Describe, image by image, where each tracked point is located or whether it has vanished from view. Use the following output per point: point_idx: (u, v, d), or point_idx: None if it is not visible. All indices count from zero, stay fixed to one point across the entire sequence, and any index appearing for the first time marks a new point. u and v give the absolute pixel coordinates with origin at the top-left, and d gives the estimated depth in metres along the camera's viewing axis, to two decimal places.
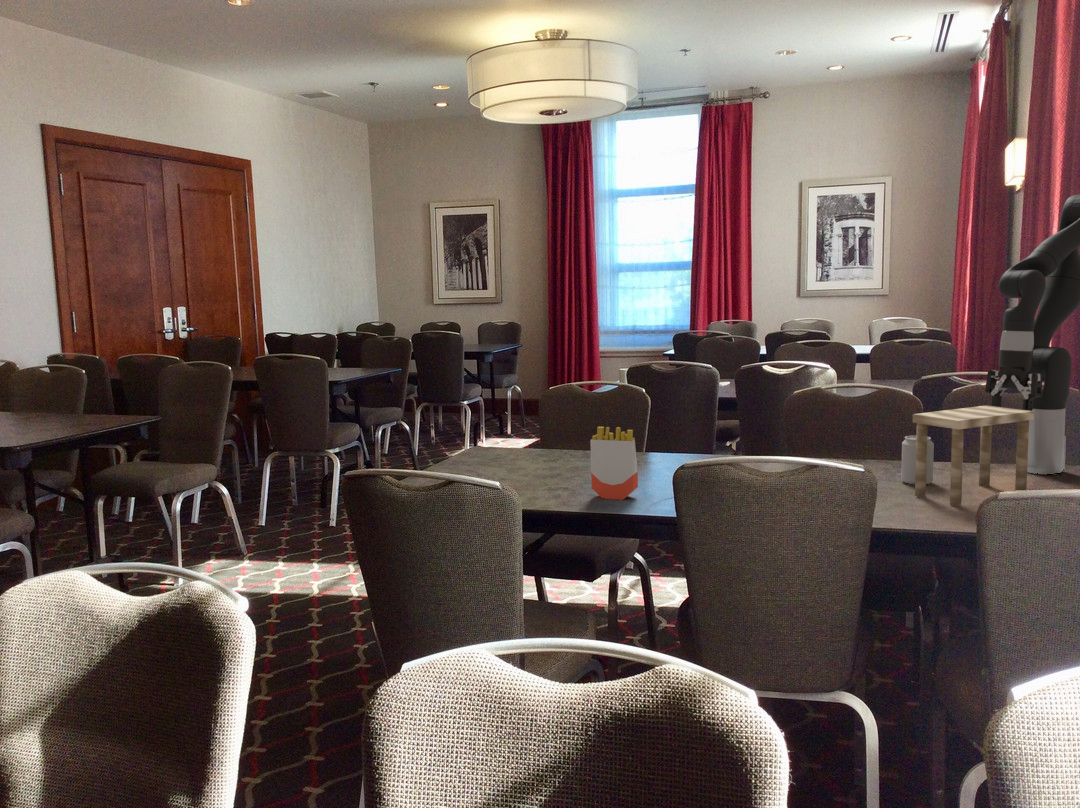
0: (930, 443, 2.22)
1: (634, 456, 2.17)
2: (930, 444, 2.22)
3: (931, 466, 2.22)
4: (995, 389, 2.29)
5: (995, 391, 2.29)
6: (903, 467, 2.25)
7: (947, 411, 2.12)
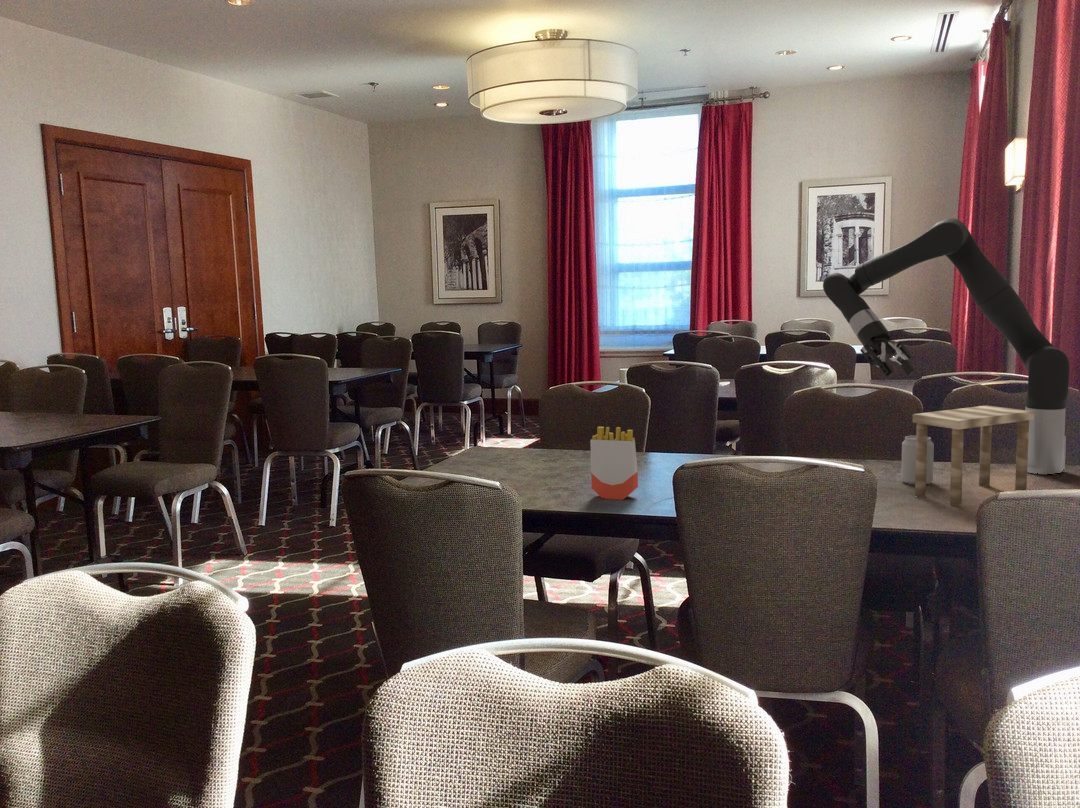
0: (930, 443, 2.22)
1: (634, 456, 2.17)
2: (930, 444, 2.22)
3: (931, 466, 2.22)
4: None
5: None
6: (903, 467, 2.25)
7: (947, 411, 2.12)
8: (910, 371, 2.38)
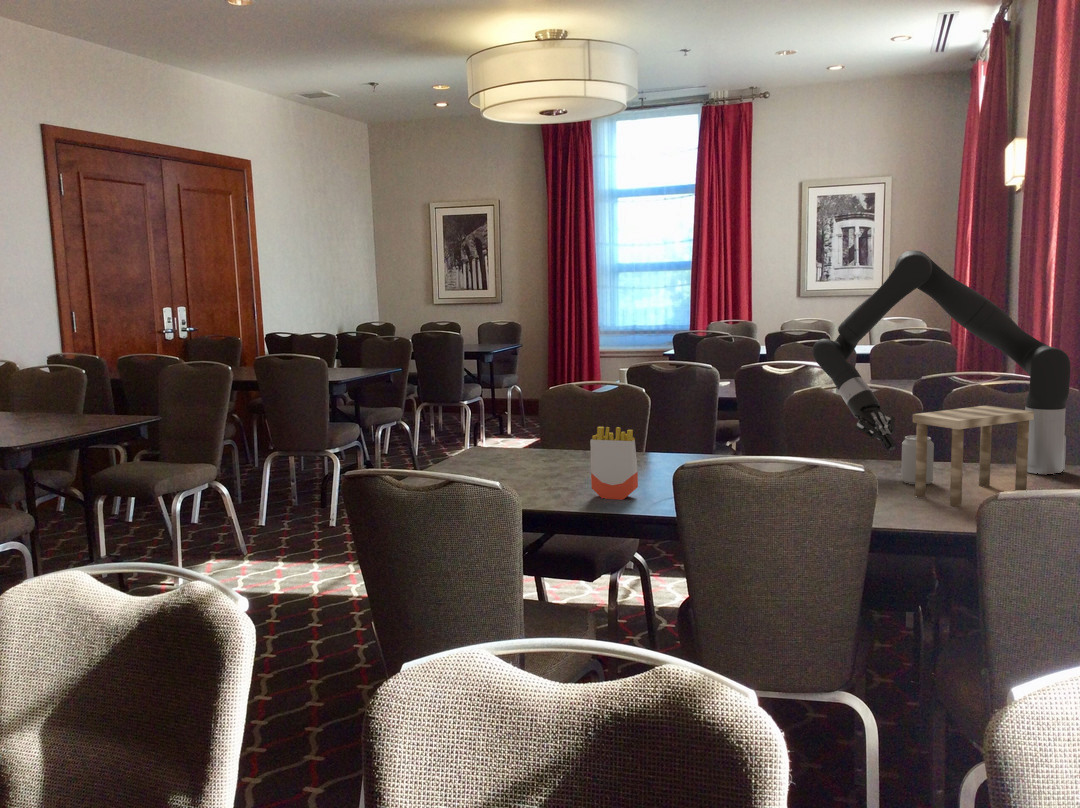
0: (930, 443, 2.22)
1: (634, 456, 2.17)
2: (930, 444, 2.22)
3: (931, 466, 2.22)
4: None
5: None
6: (903, 467, 2.25)
7: (947, 411, 2.12)
8: None
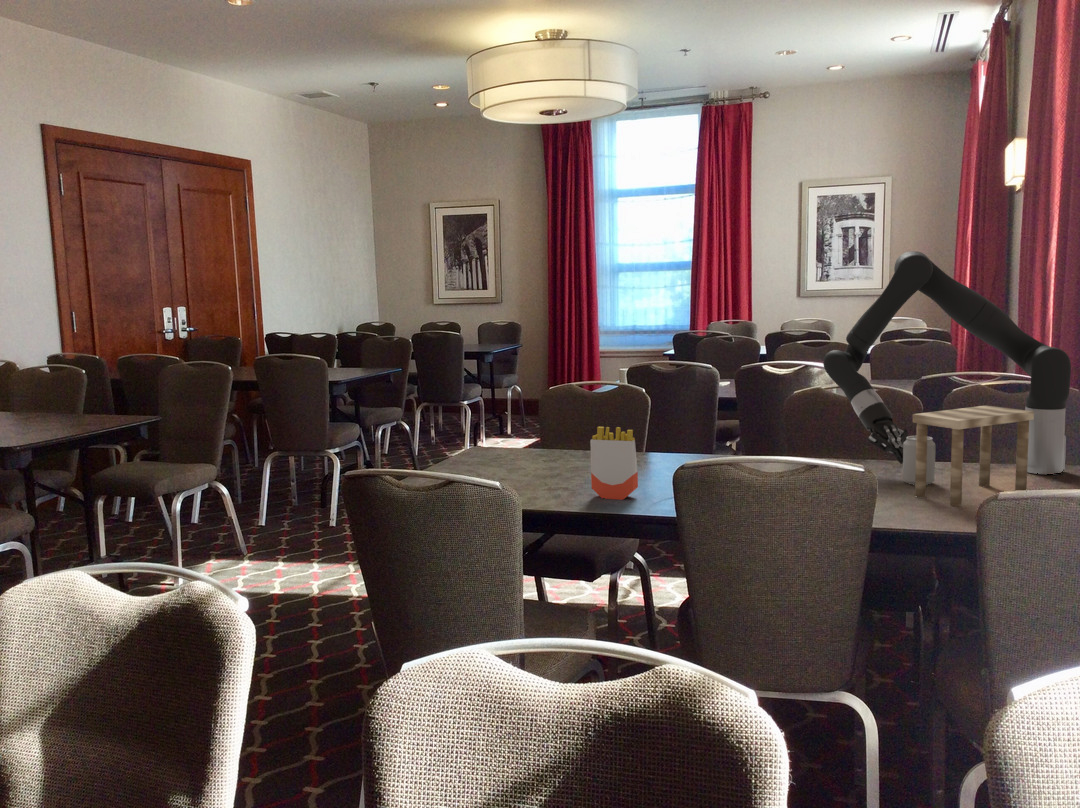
0: (932, 443, 2.21)
1: (634, 456, 2.17)
2: (932, 444, 2.21)
3: (933, 466, 2.22)
4: None
5: None
6: (905, 467, 2.24)
7: (947, 411, 2.12)
8: None
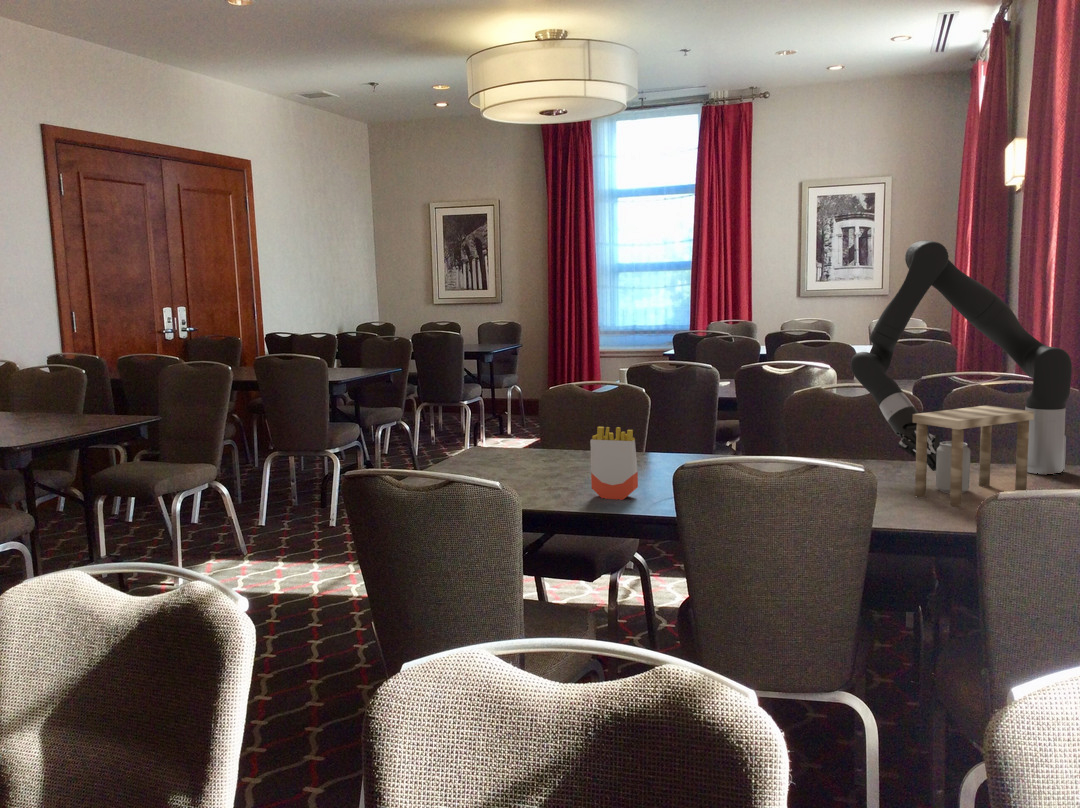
0: (967, 449, 2.12)
1: (634, 456, 2.17)
2: (968, 450, 2.12)
3: (968, 473, 2.13)
4: None
5: None
6: (939, 475, 2.15)
7: (947, 411, 2.12)
8: None
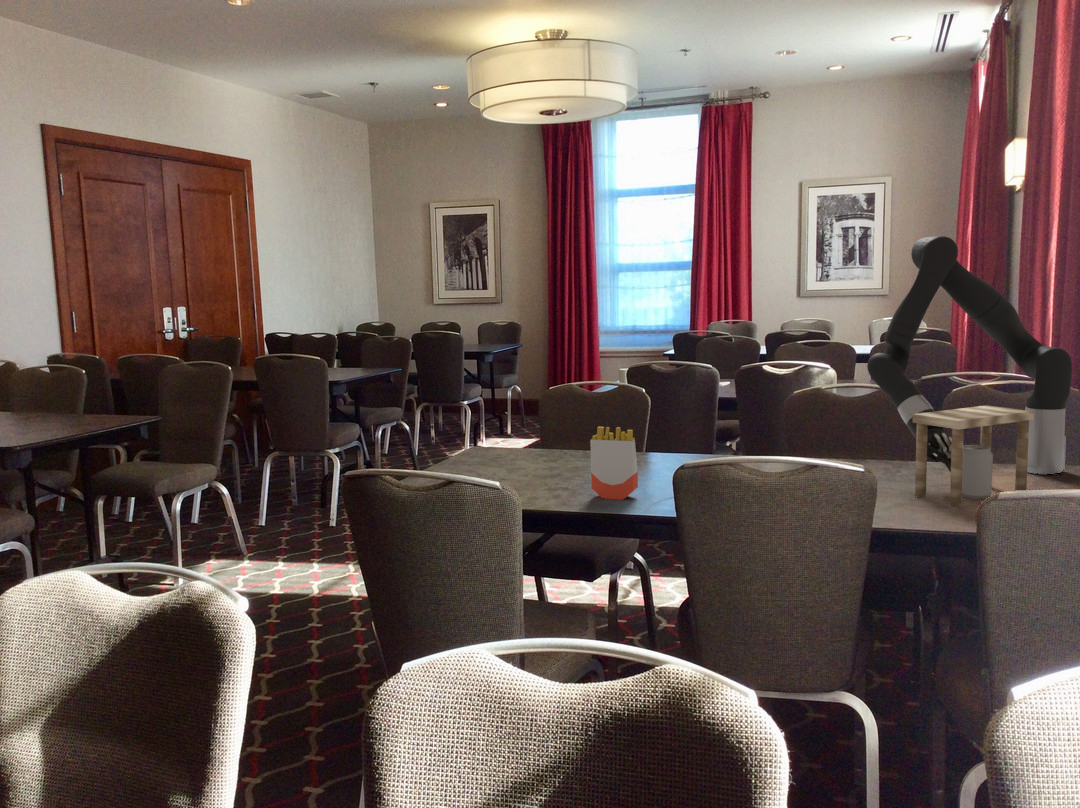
0: (990, 453, 2.07)
1: (634, 456, 2.17)
2: (991, 454, 2.07)
3: (991, 478, 2.08)
4: None
5: None
6: None
7: (947, 411, 2.12)
8: None
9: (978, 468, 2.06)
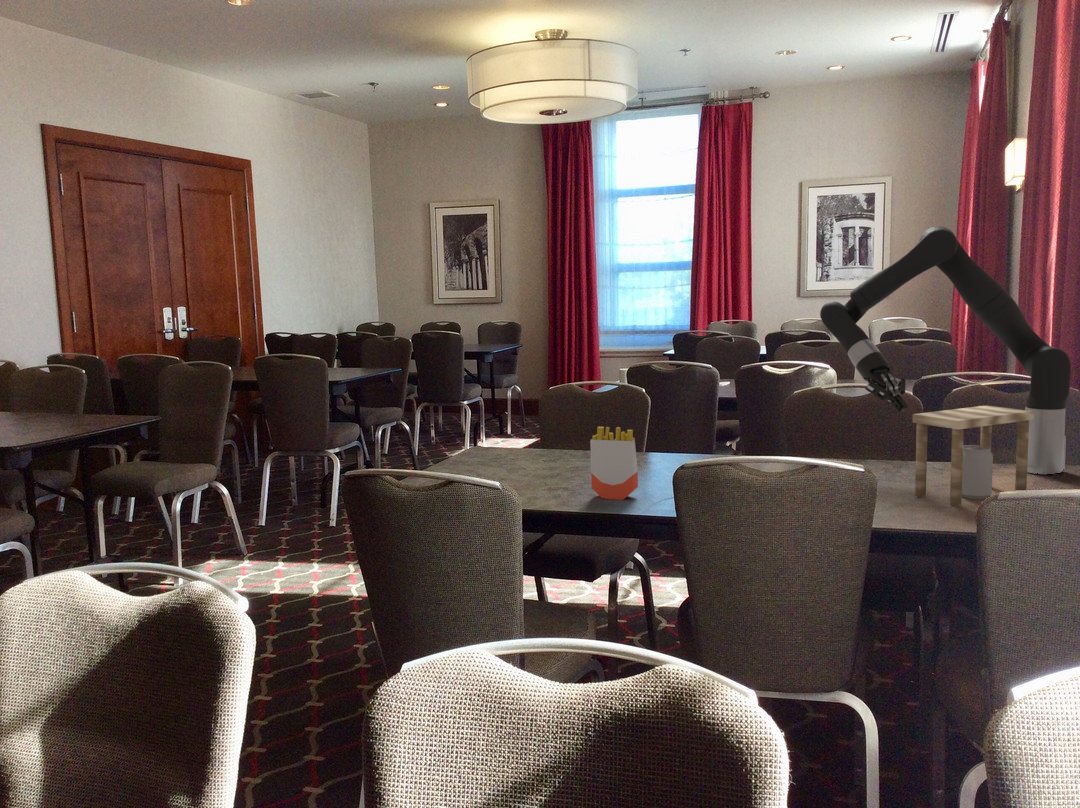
0: (990, 453, 2.07)
1: (634, 456, 2.17)
2: (991, 454, 2.07)
3: (991, 478, 2.08)
4: None
5: None
6: None
7: (947, 411, 2.12)
8: None
9: (978, 468, 2.06)
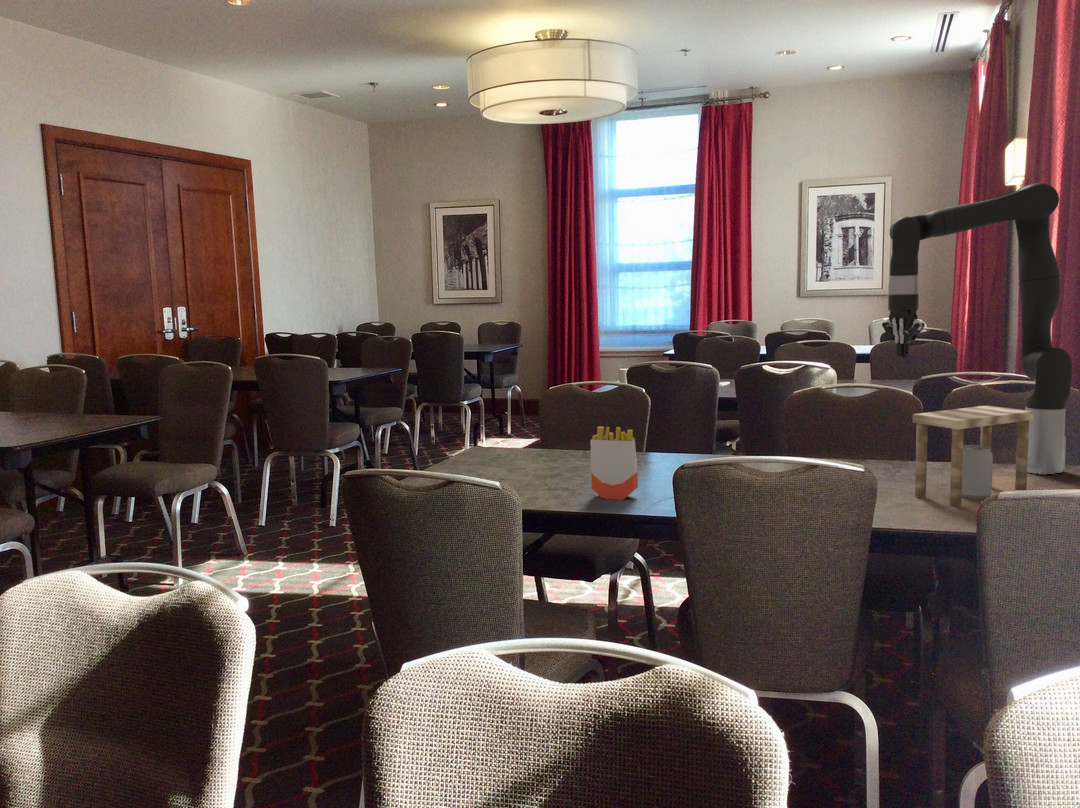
0: (990, 453, 2.07)
1: (634, 456, 2.17)
2: (990, 454, 2.07)
3: (991, 478, 2.08)
4: (898, 337, 2.37)
5: (897, 338, 2.38)
6: None
7: (947, 411, 2.12)
8: None
9: (978, 468, 2.06)
